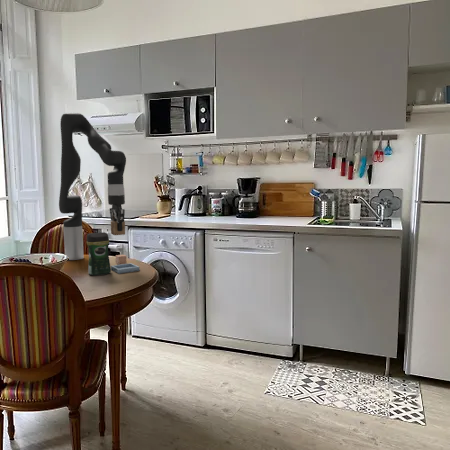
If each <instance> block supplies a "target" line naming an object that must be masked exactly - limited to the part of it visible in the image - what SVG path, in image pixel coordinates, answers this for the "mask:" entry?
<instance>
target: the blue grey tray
mask: <svg viewBox="0 0 450 450" xmlns="http://www.w3.org/2000/svg"><path fill="white" fill-rule="evenodd" d="M110 267H111V271H113V273H116V274H118V275H120V274H126V273H127V274H128V273H133V272H140V271H141V269H140V266H138V265H136V264H134V263H131V262H130V263H127V264H115V265H110Z"/></svg>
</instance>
